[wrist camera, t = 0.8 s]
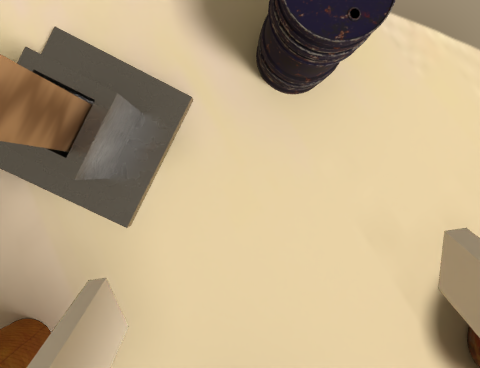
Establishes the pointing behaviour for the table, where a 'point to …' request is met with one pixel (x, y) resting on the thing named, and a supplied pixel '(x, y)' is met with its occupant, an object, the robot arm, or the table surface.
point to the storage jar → (313, 38)
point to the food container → (474, 345)
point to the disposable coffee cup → (21, 342)
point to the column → (37, 109)
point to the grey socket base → (101, 130)
